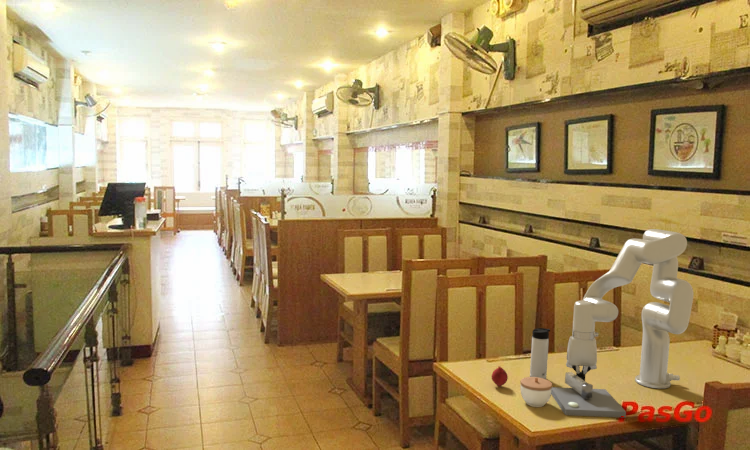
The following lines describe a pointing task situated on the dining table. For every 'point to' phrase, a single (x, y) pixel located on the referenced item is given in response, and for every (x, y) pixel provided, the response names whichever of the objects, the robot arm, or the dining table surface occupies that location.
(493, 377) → the onion
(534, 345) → the travel mug
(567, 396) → the base
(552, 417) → the dining table surface
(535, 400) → the lidded jar
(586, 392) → the light grey rectangular bar
